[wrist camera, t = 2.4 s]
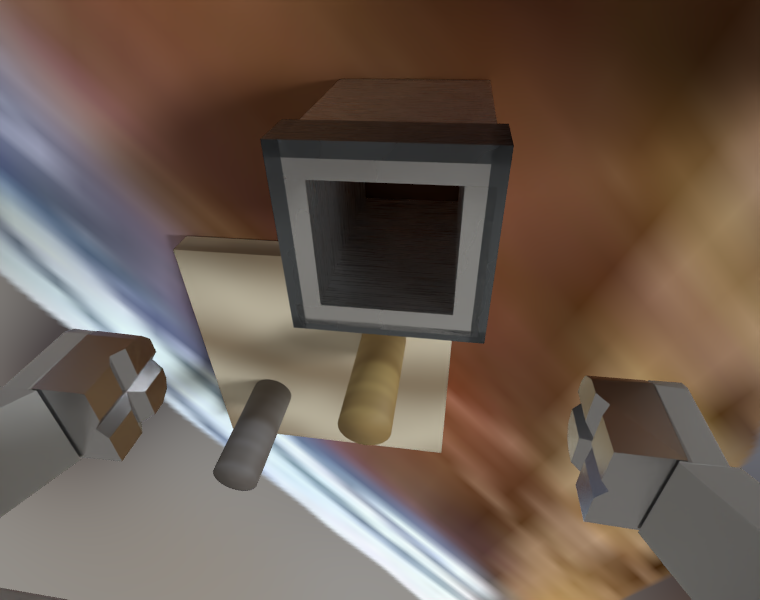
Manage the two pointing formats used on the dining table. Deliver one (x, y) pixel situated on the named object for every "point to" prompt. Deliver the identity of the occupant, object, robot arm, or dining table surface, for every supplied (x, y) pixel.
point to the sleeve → (391, 207)
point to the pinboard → (302, 364)
